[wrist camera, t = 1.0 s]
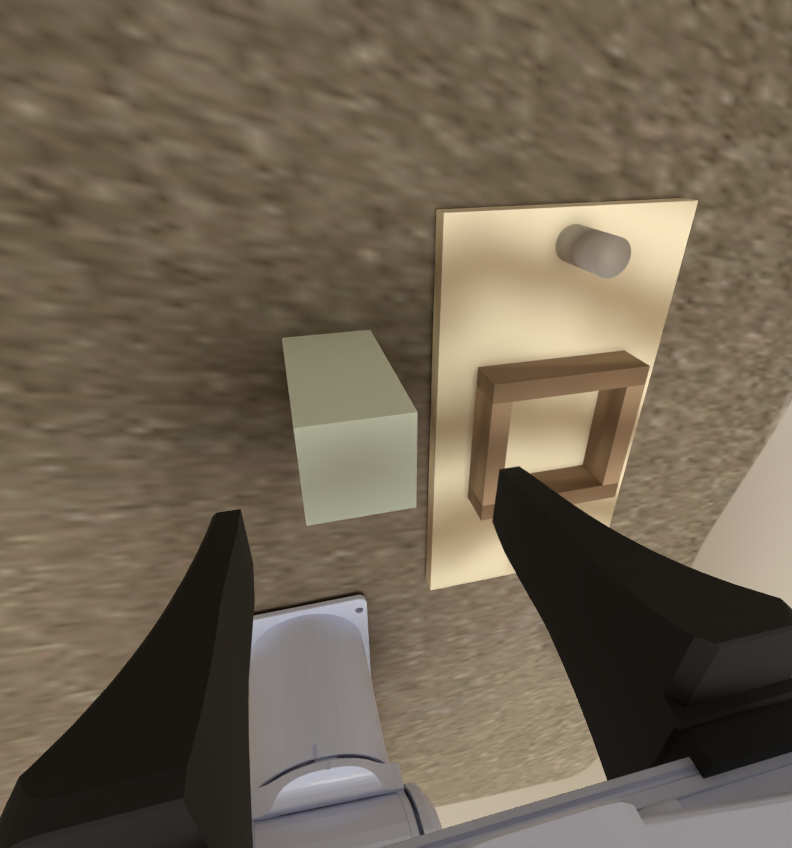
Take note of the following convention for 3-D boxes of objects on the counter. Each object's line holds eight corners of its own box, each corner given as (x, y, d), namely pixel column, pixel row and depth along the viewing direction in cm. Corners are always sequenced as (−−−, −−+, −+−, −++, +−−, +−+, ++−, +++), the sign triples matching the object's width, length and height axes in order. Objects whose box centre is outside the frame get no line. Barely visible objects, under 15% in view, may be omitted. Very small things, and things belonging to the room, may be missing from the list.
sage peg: (373, 406, 25) (416, 507, 18) (292, 416, 24) (306, 526, 18) (370, 329, 23) (417, 412, 16) (281, 338, 22) (293, 428, 16)
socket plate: (592, 545, 35) (629, 590, 31) (425, 578, 32) (445, 630, 29) (682, 198, 24) (753, 209, 20) (436, 209, 21) (470, 225, 18)
